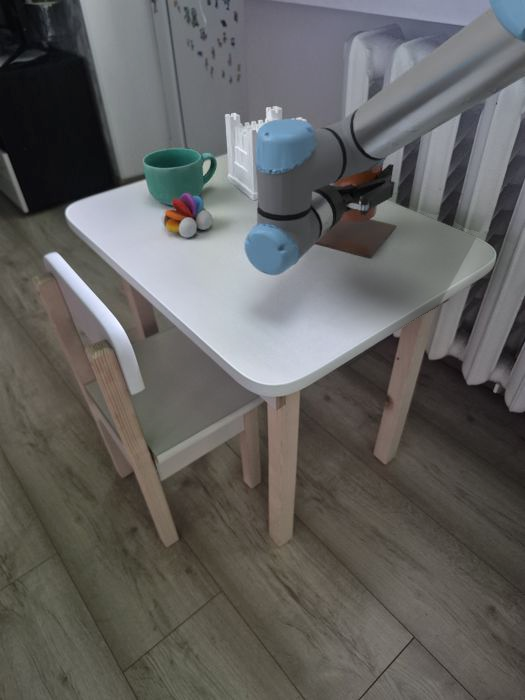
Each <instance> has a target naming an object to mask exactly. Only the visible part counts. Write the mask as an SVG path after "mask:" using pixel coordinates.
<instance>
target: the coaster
mask: <svg viewBox="0 0 525 700" xmlns="http://www.w3.org/2000/svg"><path fill="white" fill-rule="evenodd" d="M396 228H397V225H395V224H392V223H389V222H388V223H387V222H383V221H379V220H375V219H368V220H365V221H346V220H341V219H340V220H339V221H338V222H337V223H336V224H335V225H334V226H333V227H332V228H331V229H330V230H329V231H327V233H326V234H325V235H323V236H322V237H321V238H320V239H319V240H318V241H317V242H316V243H315V244H314V245H317V246H320V247H321V246H322V247H325V248H327V249H332V250H336V251H340V252H343V253H347V254H352V255H355V256H359V257H363V258H366V259H371V258H372V257H373V256H374V255H375V253H376V252H377V251H378V250H379V249H380V248H381V247H382V245H383V244H385V242H386V240H388V238H389V237H390V236H391V234H392V233H393V232H394V231H395V229H396Z"/></svg>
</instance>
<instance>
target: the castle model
mask: <svg viewBox="0 0 525 700" xmlns="http://www.w3.org/2000/svg"><path fill="white" fill-rule="evenodd" d="M291 119H296V120H302V121H305V122H307V123H308V119H306V118H303V117H301V116H298V117H296V118H294V117H293V118H291ZM273 120H283V108H282V107H280V106H278V105H275V106H272V107H271V106H267V107H265V118H264V120H263V119H258V120H257V121H256V120H251V122H249V121H247V122H244V125H243V123H242V122H241V115H240V114H238V113H236V112H232V113H231V114H230V113H226V114H224V121H225V122H224V123H225V136H226V137H225V139H226V153H227V168H228V173H226V180H227V181H228V182H230V183H231V184H232V185H233V186H234V187H236V188H237V189H238V190H239V191H241V192H242V193H243V194H244V195H246V196H247V197H248V198H249V199H250V200H252V201H258V190H257V172H256V164H255V157H256V143H257V133H258V130H259V129H260V127H261V126H262V125H264V124H265V123H267V122H270V121H273ZM250 123H251V124H250Z"/></svg>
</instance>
